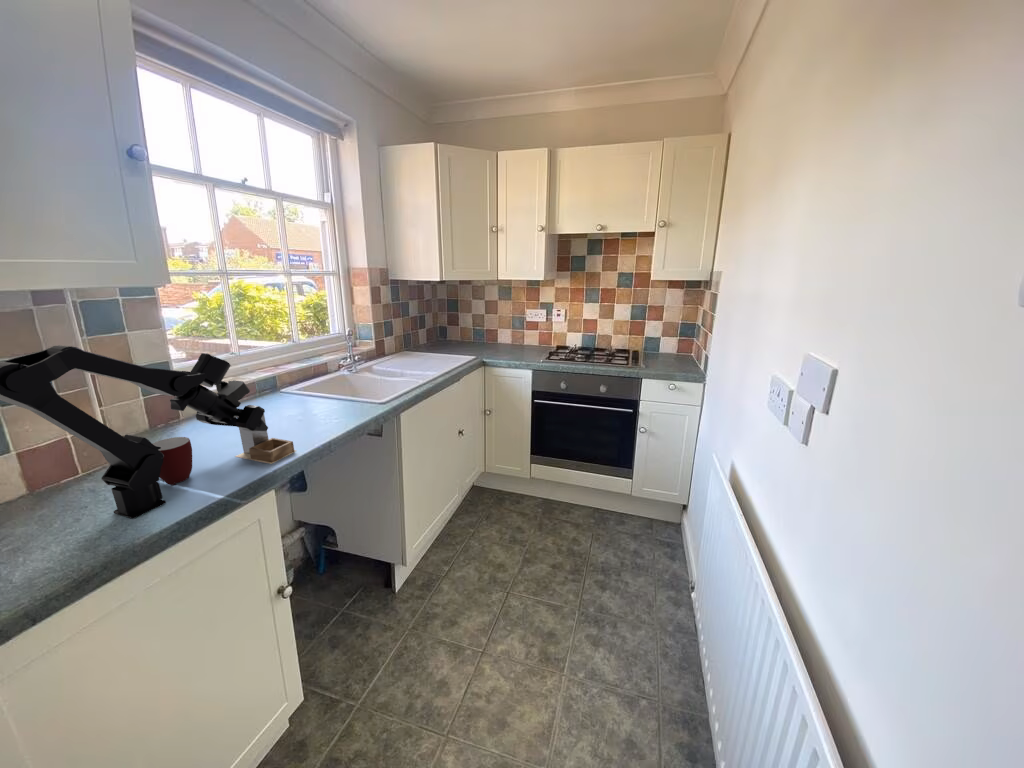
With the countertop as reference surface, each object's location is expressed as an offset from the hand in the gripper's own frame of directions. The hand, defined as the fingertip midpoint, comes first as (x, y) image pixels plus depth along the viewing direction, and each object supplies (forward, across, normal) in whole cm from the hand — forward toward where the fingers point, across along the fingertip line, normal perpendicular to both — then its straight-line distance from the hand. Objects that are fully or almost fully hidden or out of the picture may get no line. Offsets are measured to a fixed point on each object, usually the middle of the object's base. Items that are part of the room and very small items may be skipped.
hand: (254, 427), depth 114 cm
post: (+5, 0, +5) cm, 7 cm away
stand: (+5, -4, +6) cm, 9 cm away
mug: (-8, +6, +18) cm, 21 cm away
